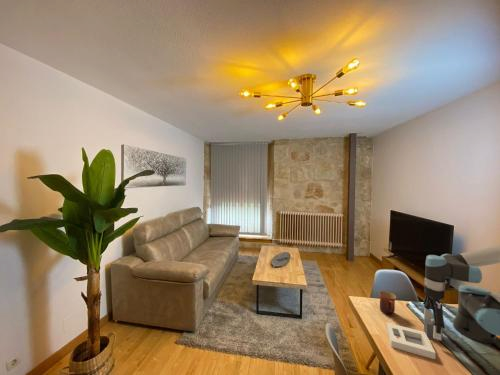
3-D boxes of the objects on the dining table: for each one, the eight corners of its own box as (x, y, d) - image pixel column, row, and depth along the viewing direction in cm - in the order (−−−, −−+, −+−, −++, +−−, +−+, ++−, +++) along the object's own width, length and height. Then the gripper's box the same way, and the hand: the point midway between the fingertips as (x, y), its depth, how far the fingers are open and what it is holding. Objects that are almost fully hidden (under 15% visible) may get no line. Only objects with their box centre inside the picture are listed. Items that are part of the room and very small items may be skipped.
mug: (375, 306, 129) (376, 290, 129) (391, 308, 127) (392, 291, 127) (384, 319, 117) (384, 300, 117) (401, 321, 115) (402, 302, 115)
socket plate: (424, 337, 103) (424, 330, 103) (435, 359, 90) (435, 351, 90) (386, 328, 110) (386, 321, 110) (391, 346, 97) (391, 339, 97)
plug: (438, 335, 105) (439, 319, 104) (442, 341, 101) (443, 324, 100) (423, 331, 107) (424, 315, 107) (426, 337, 103) (427, 320, 103)
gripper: (417, 275, 116) (415, 313, 117) (433, 298, 94) (431, 344, 94) (434, 278, 113) (432, 317, 114) (456, 302, 91) (453, 350, 91)
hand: (431, 329), depth 104 cm, fingers open, 13 cm apart
